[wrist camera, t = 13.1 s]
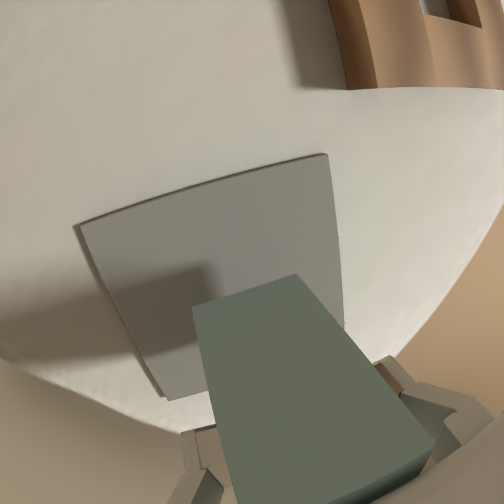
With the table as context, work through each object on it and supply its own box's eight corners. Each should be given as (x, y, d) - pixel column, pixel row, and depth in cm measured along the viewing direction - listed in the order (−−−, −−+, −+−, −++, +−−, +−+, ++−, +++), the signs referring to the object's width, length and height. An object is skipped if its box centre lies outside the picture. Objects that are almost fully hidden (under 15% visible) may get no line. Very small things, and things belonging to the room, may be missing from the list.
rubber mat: (167, 396, 18) (168, 401, 18) (81, 223, 13) (79, 226, 13) (342, 337, 20) (344, 341, 20) (324, 153, 15) (327, 154, 15)
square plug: (221, 379, 15) (277, 552, 7) (191, 307, 13) (245, 529, 5) (308, 349, 15) (403, 498, 7) (296, 272, 13) (436, 444, 5)
